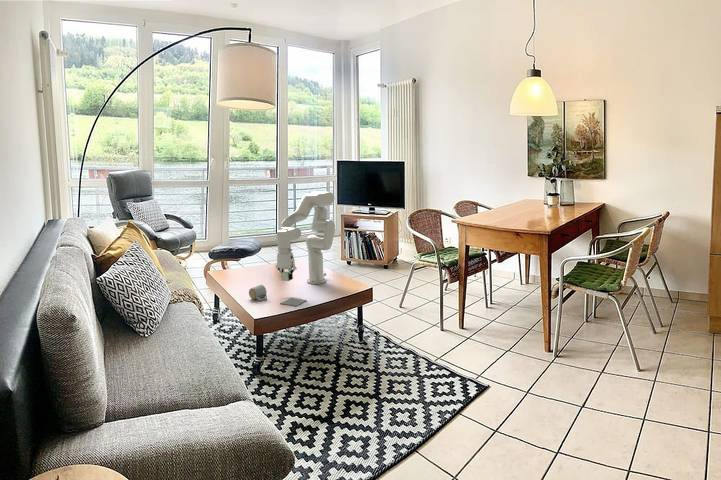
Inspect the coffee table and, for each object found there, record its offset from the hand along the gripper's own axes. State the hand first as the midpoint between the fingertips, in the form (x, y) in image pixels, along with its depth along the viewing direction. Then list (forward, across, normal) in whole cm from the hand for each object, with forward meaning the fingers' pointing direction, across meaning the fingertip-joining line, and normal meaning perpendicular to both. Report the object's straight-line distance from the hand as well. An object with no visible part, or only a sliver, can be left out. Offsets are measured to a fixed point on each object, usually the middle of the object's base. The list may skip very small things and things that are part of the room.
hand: (286, 278), depth 287 cm
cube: (+1, 0, 0) cm, 1 cm away
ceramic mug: (+9, +10, +15) cm, 20 cm away
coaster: (+9, -13, +13) cm, 20 cm away
